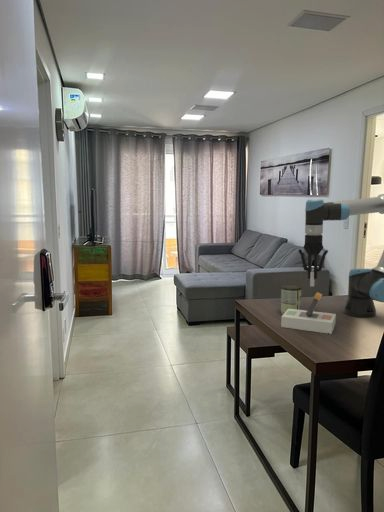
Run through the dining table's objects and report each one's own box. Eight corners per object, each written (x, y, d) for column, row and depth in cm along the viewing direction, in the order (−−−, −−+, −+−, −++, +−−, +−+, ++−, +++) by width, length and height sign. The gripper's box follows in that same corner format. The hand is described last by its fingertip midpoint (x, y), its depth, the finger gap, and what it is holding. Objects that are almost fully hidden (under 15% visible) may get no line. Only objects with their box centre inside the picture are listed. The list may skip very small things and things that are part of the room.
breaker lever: (312, 313, 179) (322, 294, 176) (310, 317, 174) (320, 297, 171) (307, 311, 180) (317, 291, 176) (305, 314, 175) (315, 294, 172)
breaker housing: (335, 324, 179) (335, 313, 178) (331, 333, 167) (331, 322, 166) (288, 318, 189) (288, 308, 188) (281, 326, 176) (281, 316, 176)
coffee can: (279, 309, 204) (279, 283, 201) (299, 309, 203) (299, 283, 200) (281, 315, 193) (282, 288, 191) (302, 315, 192) (303, 288, 190)
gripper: (297, 234, 170) (296, 286, 174) (327, 235, 165) (326, 288, 168) (300, 233, 177) (299, 282, 181) (330, 233, 171) (328, 285, 175)
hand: (312, 285), depth 174 cm, fingers closed
